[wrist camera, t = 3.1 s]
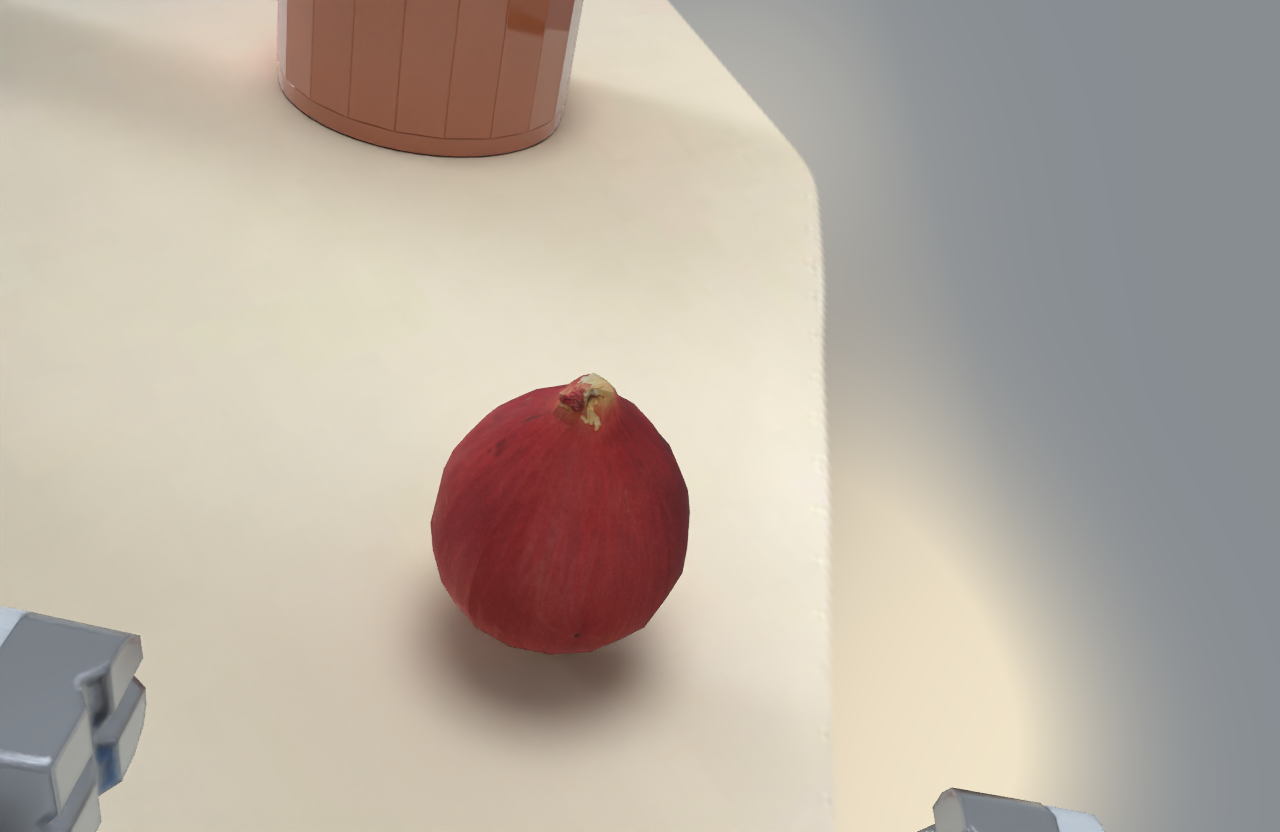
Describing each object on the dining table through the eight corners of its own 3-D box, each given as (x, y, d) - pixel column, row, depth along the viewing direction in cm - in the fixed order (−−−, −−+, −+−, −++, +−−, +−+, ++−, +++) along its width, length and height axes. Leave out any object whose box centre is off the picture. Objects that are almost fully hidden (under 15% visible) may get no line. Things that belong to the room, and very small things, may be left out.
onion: (445, 527, 31) (483, 271, 26) (658, 570, 31) (734, 325, 26) (392, 703, 26) (426, 430, 21) (643, 750, 26) (731, 493, 22)
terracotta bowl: (554, 59, 58) (579, -86, 53) (568, 175, 48) (599, 9, 44) (297, 17, 55) (301, -139, 51) (257, 131, 45) (259, -50, 41)
